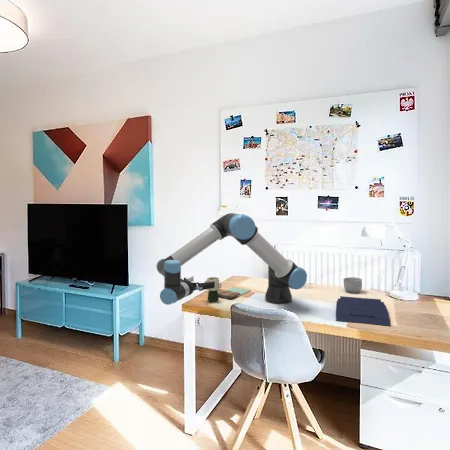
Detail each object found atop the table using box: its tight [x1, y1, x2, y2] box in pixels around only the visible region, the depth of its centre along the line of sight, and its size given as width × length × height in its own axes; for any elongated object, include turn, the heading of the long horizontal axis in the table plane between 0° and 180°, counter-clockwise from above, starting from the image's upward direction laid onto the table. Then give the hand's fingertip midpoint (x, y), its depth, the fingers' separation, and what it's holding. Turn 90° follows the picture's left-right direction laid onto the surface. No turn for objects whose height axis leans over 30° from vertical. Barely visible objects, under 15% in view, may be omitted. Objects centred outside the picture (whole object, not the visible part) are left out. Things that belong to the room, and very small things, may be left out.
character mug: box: [204, 276, 222, 302], centre depth 206 cm, size 11×7×13 cm, turn 61°
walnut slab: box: [217, 288, 241, 300], centre depth 216 cm, size 16×9×2 cm, turn 55°
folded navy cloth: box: [335, 295, 391, 327], centre depth 184 cm, size 24×30×4 cm
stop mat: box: [225, 286, 252, 296], centre depth 225 cm, size 13×12×1 cm
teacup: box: [342, 276, 363, 294], centre depth 225 cm, size 14×11×8 cm
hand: (204, 279), depth 196 cm, fingers open, 13 cm apart
